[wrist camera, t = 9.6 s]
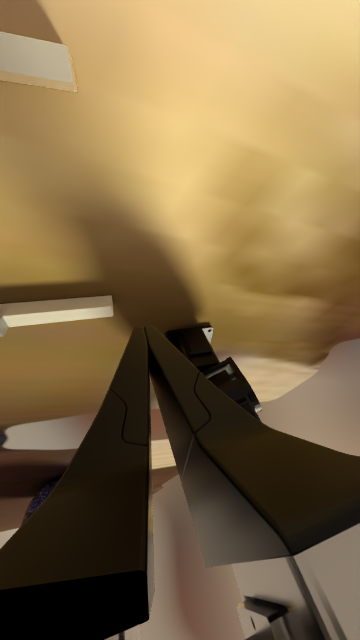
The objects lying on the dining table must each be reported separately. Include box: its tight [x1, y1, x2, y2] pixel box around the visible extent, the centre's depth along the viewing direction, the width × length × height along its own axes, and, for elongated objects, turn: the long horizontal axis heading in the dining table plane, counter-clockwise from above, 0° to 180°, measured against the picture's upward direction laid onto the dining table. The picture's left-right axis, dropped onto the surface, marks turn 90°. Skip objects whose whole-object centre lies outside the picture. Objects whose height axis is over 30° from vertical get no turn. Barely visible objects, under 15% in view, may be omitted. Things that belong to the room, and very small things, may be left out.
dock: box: [0, 31, 113, 337], centre depth 14 cm, size 16×10×3 cm, turn 176°
